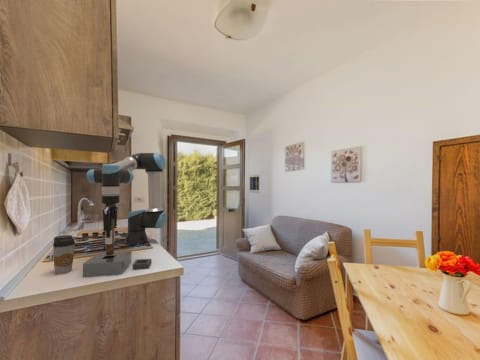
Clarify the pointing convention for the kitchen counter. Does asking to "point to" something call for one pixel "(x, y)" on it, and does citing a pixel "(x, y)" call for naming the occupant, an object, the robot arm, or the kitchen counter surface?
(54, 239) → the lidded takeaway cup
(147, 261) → the socket
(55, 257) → the coffee cup
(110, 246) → the stylus
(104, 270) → the box
